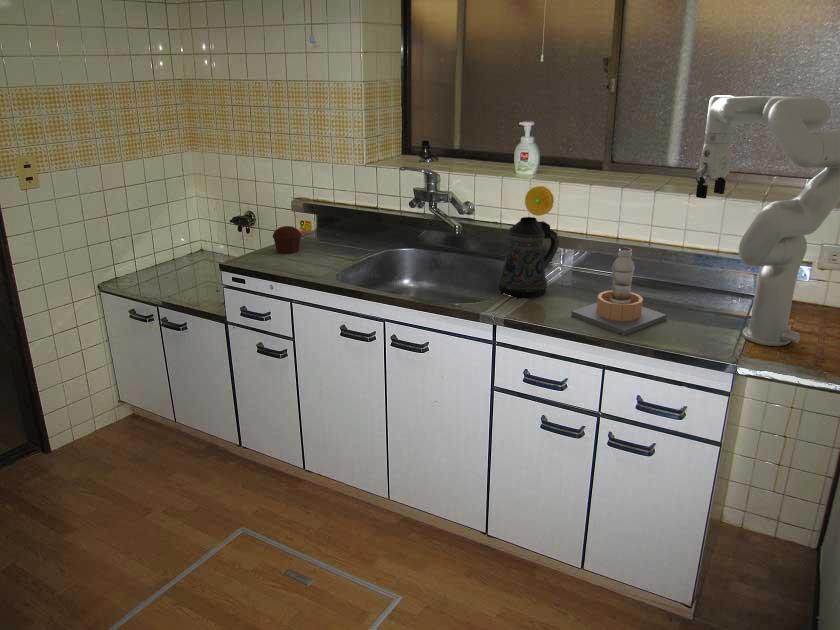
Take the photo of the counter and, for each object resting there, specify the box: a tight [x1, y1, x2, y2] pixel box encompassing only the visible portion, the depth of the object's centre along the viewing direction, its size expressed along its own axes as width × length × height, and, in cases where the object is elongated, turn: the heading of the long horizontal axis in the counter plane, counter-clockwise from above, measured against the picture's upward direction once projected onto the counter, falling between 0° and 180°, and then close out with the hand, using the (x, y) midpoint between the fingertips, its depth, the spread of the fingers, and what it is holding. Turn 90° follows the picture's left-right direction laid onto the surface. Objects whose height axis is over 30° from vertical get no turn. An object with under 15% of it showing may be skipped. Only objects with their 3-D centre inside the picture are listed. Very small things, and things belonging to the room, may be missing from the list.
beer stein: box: [497, 216, 560, 299], centre depth 238 cm, size 16×19×25 cm
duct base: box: [571, 290, 667, 336], centre depth 217 cm, size 20×20×6 cm
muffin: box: [272, 225, 303, 255], centre depth 288 cm, size 12×11×10 cm
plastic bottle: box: [610, 247, 636, 304], centre depth 214 cm, size 6×7×20 cm
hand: (709, 195), depth 219 cm, fingers open, 9 cm apart
